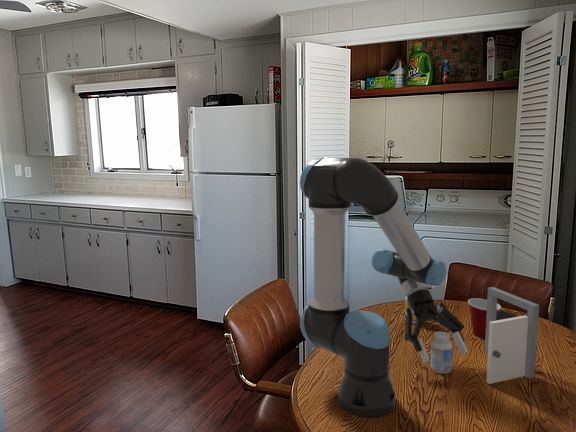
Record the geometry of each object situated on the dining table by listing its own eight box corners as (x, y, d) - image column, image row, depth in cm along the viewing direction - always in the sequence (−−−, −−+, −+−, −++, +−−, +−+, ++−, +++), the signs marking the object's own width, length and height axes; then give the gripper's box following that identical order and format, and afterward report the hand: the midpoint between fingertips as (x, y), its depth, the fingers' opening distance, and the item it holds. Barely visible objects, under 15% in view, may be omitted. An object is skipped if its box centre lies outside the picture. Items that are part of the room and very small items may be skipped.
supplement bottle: (401, 318, 175) (402, 287, 172) (416, 316, 176) (417, 285, 174) (411, 325, 168) (411, 292, 166) (426, 322, 170) (427, 290, 168)
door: (521, 373, 130) (525, 315, 128) (528, 377, 128) (532, 318, 125) (486, 381, 127) (489, 321, 124) (492, 386, 124) (496, 325, 121)
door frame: (528, 378, 129) (533, 306, 125) (484, 352, 145) (487, 287, 142) (534, 377, 129) (539, 305, 126) (489, 351, 146) (493, 286, 142)
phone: (476, 317, 172) (499, 309, 180) (476, 320, 172) (499, 312, 180) (495, 324, 165) (518, 315, 173) (495, 327, 165) (518, 318, 173)
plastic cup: (503, 342, 152) (505, 309, 150) (469, 340, 154) (471, 307, 152) (495, 329, 162) (496, 298, 160) (463, 328, 164) (465, 296, 163)
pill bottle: (448, 364, 138) (450, 330, 136) (453, 374, 132) (454, 339, 130) (428, 364, 139) (429, 329, 137) (432, 374, 133) (433, 338, 131)
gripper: (444, 294, 151) (473, 354, 139) (379, 303, 143) (404, 369, 132) (455, 283, 145) (486, 345, 133) (387, 293, 137) (415, 360, 126)
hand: (446, 357), depth 132 cm, fingers open, 13 cm apart
